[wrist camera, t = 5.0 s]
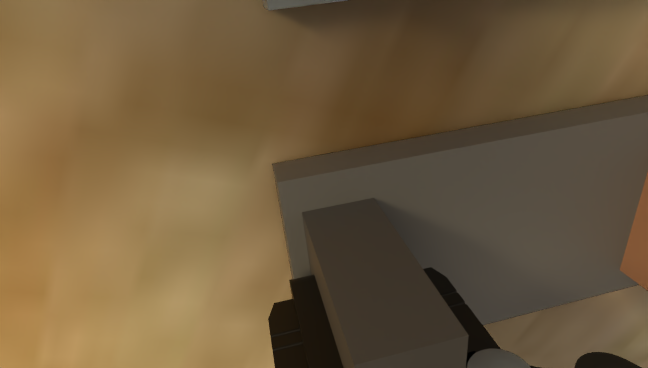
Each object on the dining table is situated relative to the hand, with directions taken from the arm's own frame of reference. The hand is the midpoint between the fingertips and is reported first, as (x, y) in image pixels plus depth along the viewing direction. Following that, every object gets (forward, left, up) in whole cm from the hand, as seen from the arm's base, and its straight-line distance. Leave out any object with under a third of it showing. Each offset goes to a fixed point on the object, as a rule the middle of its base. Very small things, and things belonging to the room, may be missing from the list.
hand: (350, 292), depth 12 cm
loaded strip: (+8, 0, -2) cm, 9 cm away
